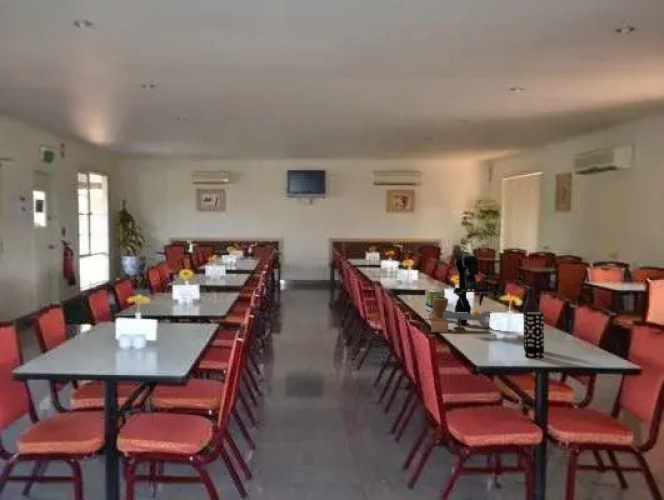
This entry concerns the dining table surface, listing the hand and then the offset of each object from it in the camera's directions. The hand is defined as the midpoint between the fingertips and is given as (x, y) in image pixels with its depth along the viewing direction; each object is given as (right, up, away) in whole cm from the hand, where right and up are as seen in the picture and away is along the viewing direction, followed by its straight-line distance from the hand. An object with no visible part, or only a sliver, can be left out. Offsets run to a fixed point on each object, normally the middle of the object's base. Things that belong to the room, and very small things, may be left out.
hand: (471, 306), depth 371 cm
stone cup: (-10, -13, +54) cm, 57 cm away
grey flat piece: (-3, -8, +14) cm, 17 cm away
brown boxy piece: (-16, -15, +13) cm, 25 cm away
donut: (+13, -14, +19) cm, 27 cm away
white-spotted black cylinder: (+15, -18, -66) cm, 70 cm away
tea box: (-6, -12, +95) cm, 96 cm away
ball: (+4, -5, +9) cm, 11 cm away
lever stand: (-5, -15, +11) cm, 19 cm away
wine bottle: (+18, -17, -50) cm, 56 cm away
